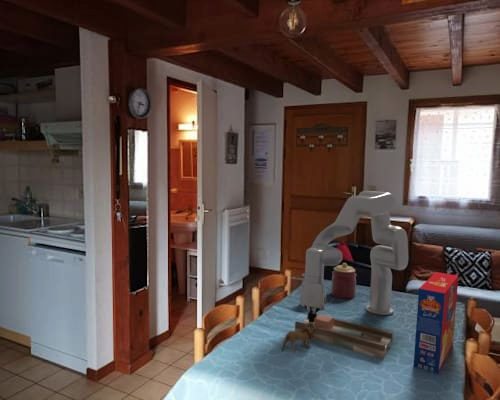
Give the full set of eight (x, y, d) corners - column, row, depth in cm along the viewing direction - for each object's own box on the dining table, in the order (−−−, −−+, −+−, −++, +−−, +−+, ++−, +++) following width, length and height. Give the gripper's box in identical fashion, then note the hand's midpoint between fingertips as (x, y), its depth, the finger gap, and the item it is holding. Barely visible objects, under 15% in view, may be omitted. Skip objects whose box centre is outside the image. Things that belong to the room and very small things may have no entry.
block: (319, 323, 163) (319, 314, 163) (333, 326, 160) (333, 317, 160) (313, 328, 158) (314, 318, 158) (328, 331, 155) (328, 322, 155)
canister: (357, 293, 213) (359, 261, 212) (353, 300, 202) (355, 267, 200) (333, 289, 219) (335, 258, 217) (328, 296, 207) (329, 263, 206)
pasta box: (438, 374, 131) (444, 293, 128) (413, 366, 135) (418, 288, 133) (452, 345, 153) (458, 275, 151) (431, 339, 158) (436, 271, 156)
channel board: (308, 323, 170) (308, 312, 170) (391, 344, 152) (392, 332, 152) (294, 334, 158) (295, 322, 158) (383, 359, 140) (384, 345, 140)
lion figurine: (310, 341, 153) (311, 319, 152) (318, 347, 148) (319, 324, 147) (278, 348, 146) (279, 325, 145) (285, 354, 141) (286, 330, 141)
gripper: (293, 277, 161) (291, 320, 162) (328, 283, 153) (325, 329, 155) (301, 273, 167) (299, 314, 169) (334, 279, 159) (332, 323, 161)
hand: (311, 321), depth 162 cm, fingers closed
